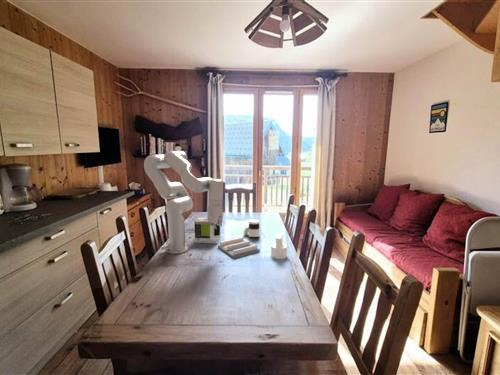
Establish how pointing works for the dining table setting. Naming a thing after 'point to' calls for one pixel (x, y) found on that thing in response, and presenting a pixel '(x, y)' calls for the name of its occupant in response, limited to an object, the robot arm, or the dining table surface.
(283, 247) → the base with upright slab
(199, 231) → the tea box
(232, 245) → the grey board with rails
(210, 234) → the eye dropper bottle
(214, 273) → the dining table surface
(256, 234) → the spread jar
